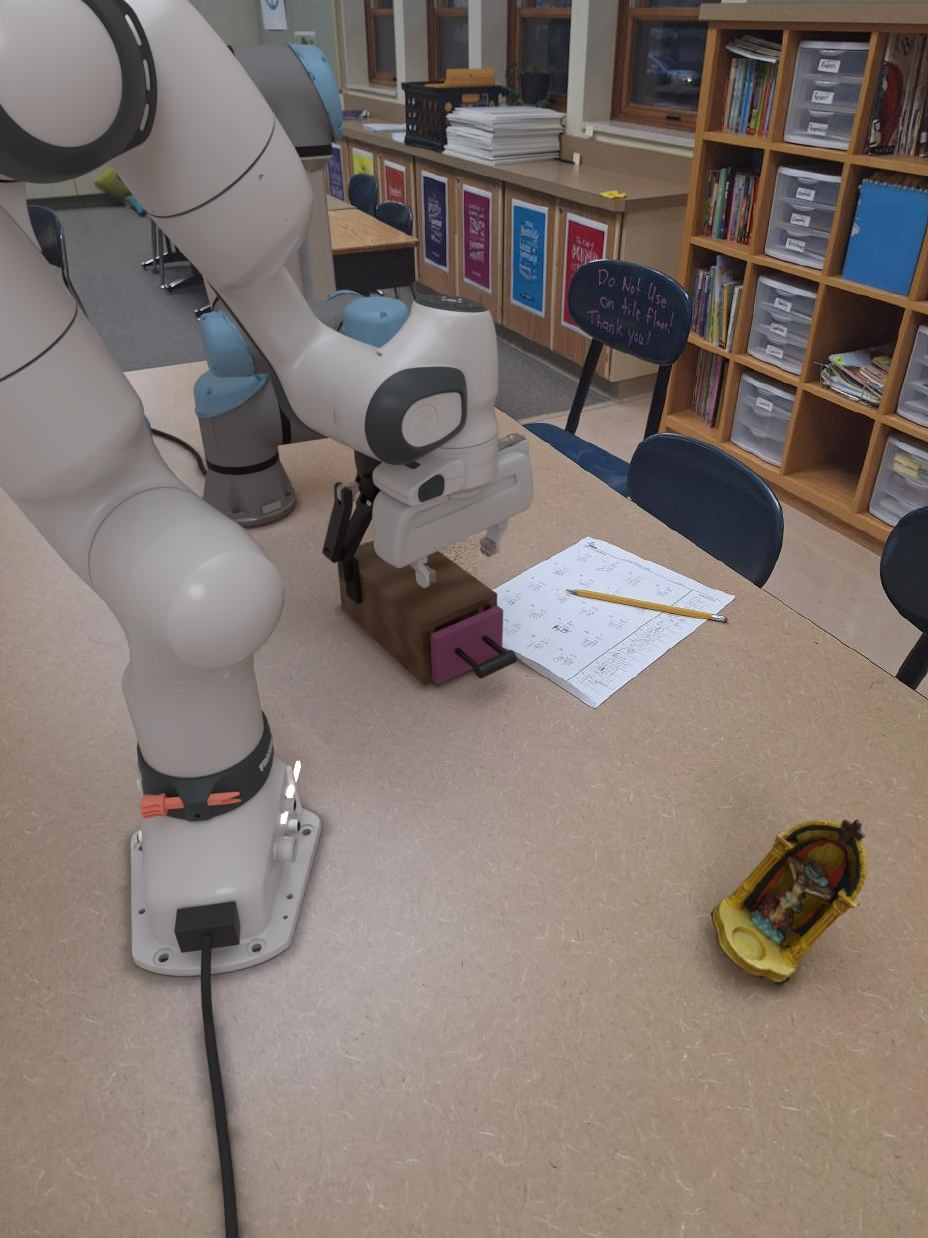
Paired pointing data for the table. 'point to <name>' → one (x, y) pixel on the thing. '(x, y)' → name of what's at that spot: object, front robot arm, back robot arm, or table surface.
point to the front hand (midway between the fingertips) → (458, 568)
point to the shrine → (792, 897)
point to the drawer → (469, 645)
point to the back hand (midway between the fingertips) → (392, 584)
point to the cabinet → (411, 605)
